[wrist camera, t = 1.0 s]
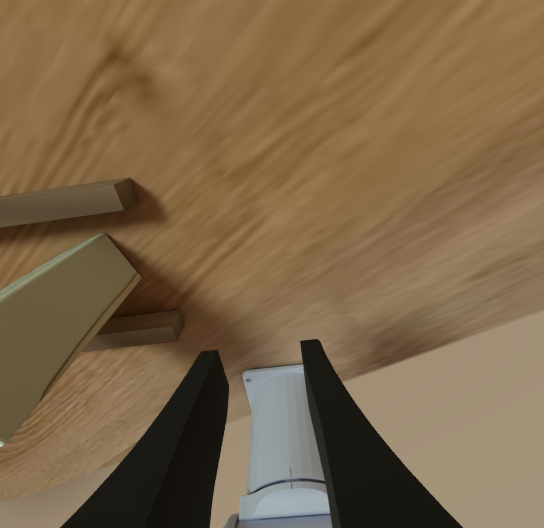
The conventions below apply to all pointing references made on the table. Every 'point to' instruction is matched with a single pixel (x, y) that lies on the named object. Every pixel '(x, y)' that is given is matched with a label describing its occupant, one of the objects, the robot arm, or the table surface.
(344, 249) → the table surface
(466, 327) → the table surface
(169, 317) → the cradle
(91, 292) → the skincare box
